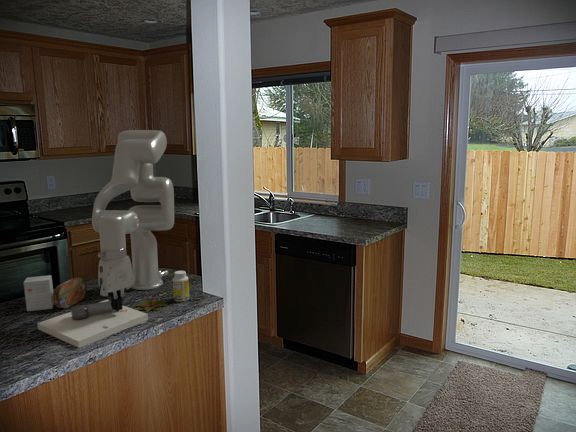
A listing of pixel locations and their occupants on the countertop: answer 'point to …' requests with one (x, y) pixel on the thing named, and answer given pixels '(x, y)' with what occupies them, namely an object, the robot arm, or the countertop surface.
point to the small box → (39, 293)
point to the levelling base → (91, 325)
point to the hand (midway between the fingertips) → (117, 309)
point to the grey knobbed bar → (90, 310)
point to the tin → (69, 292)
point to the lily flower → (150, 304)
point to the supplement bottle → (180, 286)
